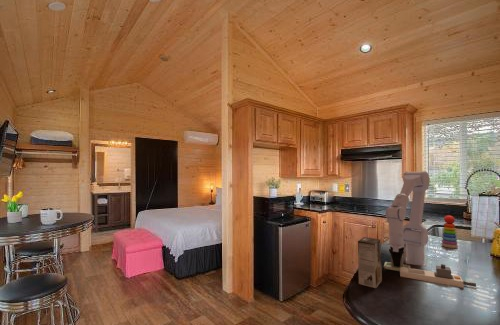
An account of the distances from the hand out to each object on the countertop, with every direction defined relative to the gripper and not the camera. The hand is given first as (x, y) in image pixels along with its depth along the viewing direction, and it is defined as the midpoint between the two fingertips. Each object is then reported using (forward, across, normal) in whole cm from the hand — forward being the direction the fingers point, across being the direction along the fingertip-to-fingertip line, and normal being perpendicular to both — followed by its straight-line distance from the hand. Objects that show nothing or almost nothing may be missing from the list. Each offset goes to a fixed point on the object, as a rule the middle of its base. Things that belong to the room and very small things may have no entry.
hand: (397, 264), depth 115 cm
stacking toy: (+2, -64, +25) cm, 69 cm away
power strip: (+2, +7, +14) cm, 16 cm away
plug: (+1, 0, 0) cm, 1 cm away
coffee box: (+2, +24, -8) cm, 25 cm away
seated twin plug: (+2, +8, +16) cm, 18 cm away
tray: (+2, 0, 0) cm, 2 cm away
